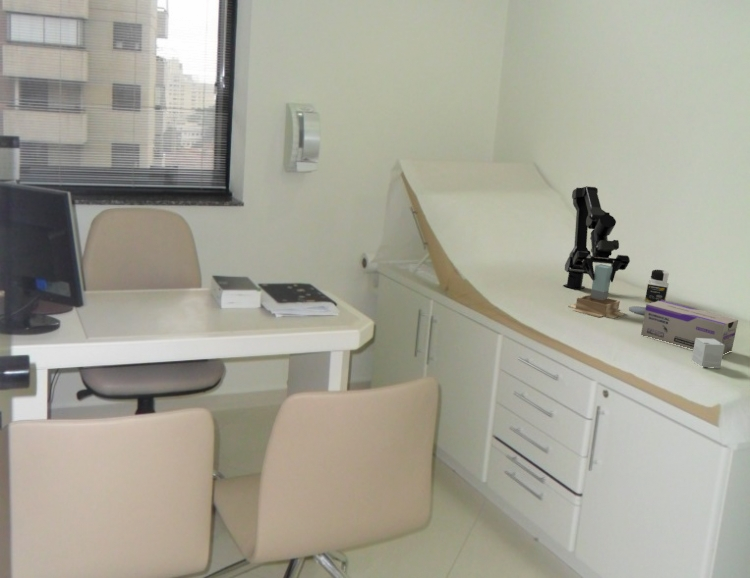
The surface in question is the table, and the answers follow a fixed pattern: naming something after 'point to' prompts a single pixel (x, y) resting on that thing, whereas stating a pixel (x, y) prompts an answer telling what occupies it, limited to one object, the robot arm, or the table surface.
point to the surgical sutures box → (687, 325)
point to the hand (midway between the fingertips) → (602, 280)
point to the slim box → (601, 282)
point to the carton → (597, 307)
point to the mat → (638, 310)
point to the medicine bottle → (657, 286)
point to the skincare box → (708, 352)
